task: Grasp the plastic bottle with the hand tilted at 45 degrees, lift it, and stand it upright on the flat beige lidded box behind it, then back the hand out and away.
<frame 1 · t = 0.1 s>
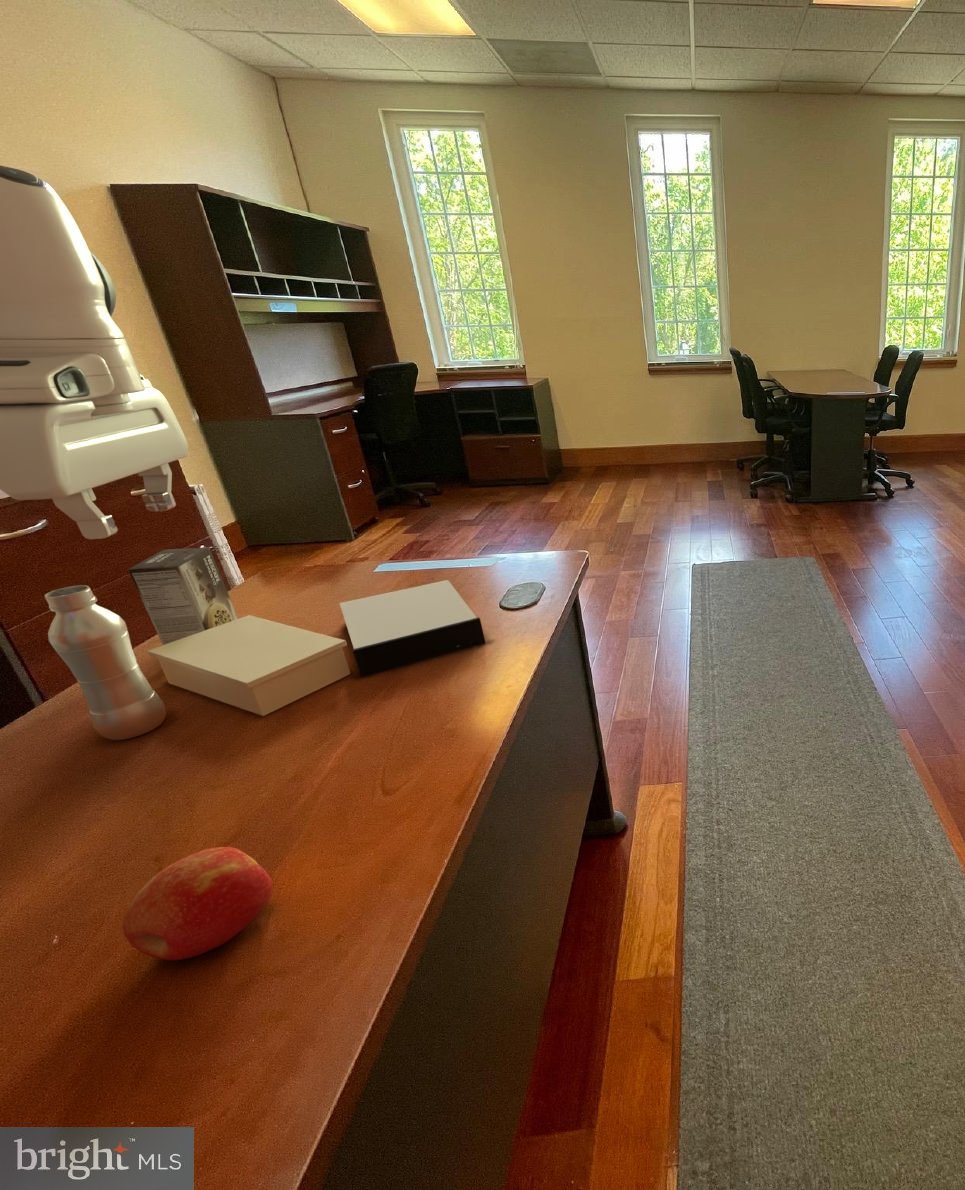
hand: (134, 522, 60), 31 cm above the table, tool pointing down, fingers open, 8 cm apart
disc drive: (414, 637, 105), on the table
flat beige lidded box: (262, 680, 91), on the table
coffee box: (209, 649, 100), on the table
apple: (217, 937, 53), on the table
plastic bottle: (139, 732, 80), on the table
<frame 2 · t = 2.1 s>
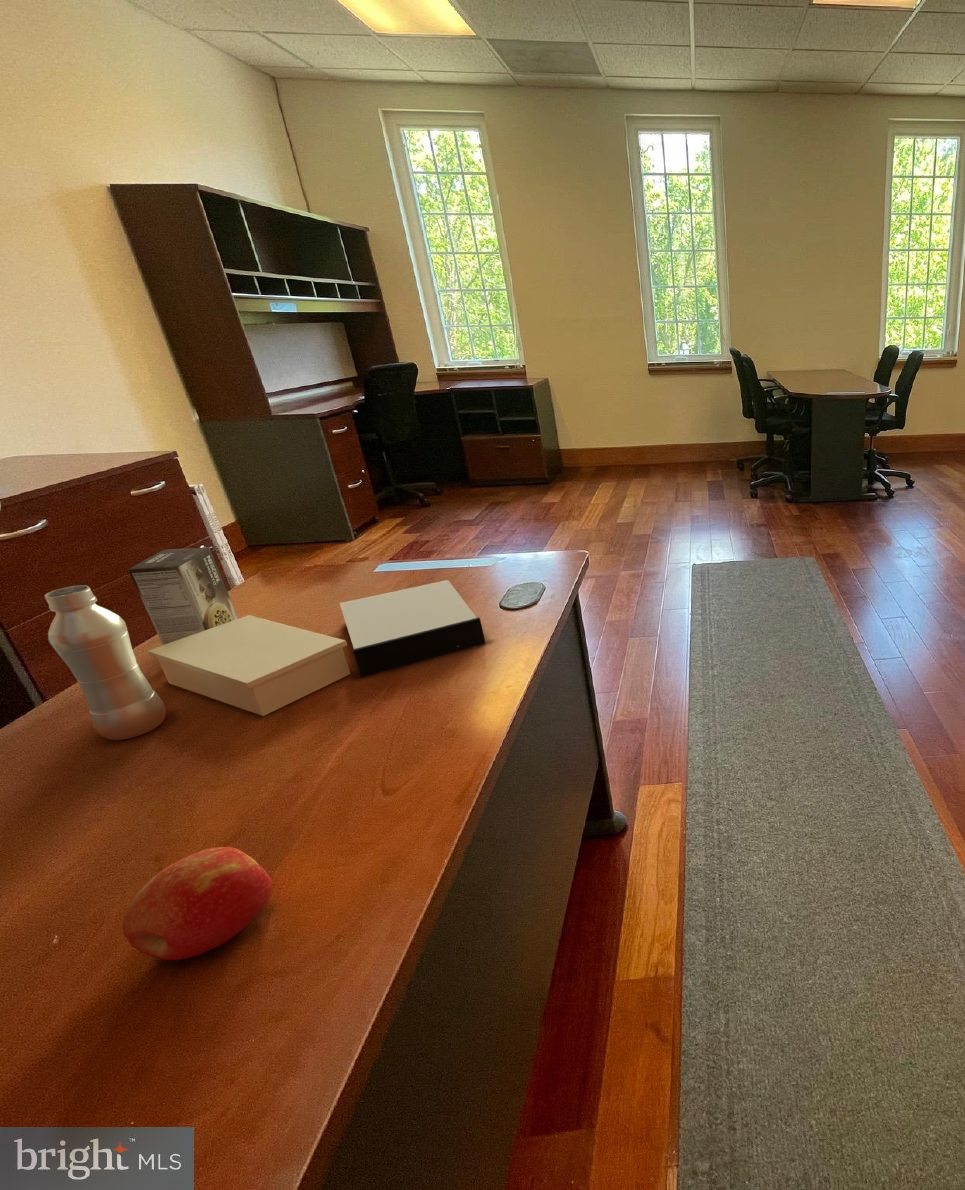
nothing on the table moved.
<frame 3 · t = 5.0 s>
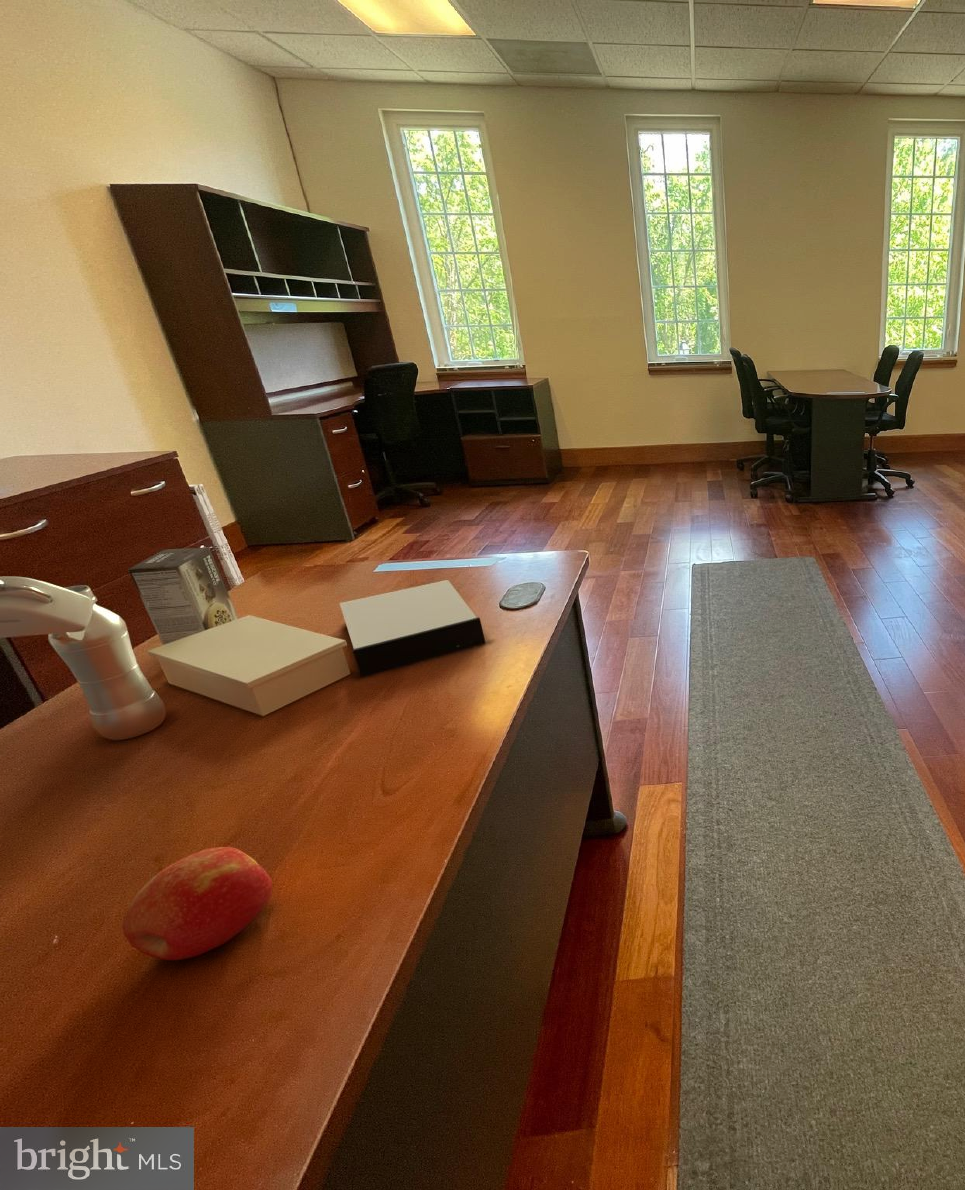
hand: (23, 638, 66), 17 cm above the table, tool tilted 45°, fingers open, 8 cm apart
nothing on the table moved.
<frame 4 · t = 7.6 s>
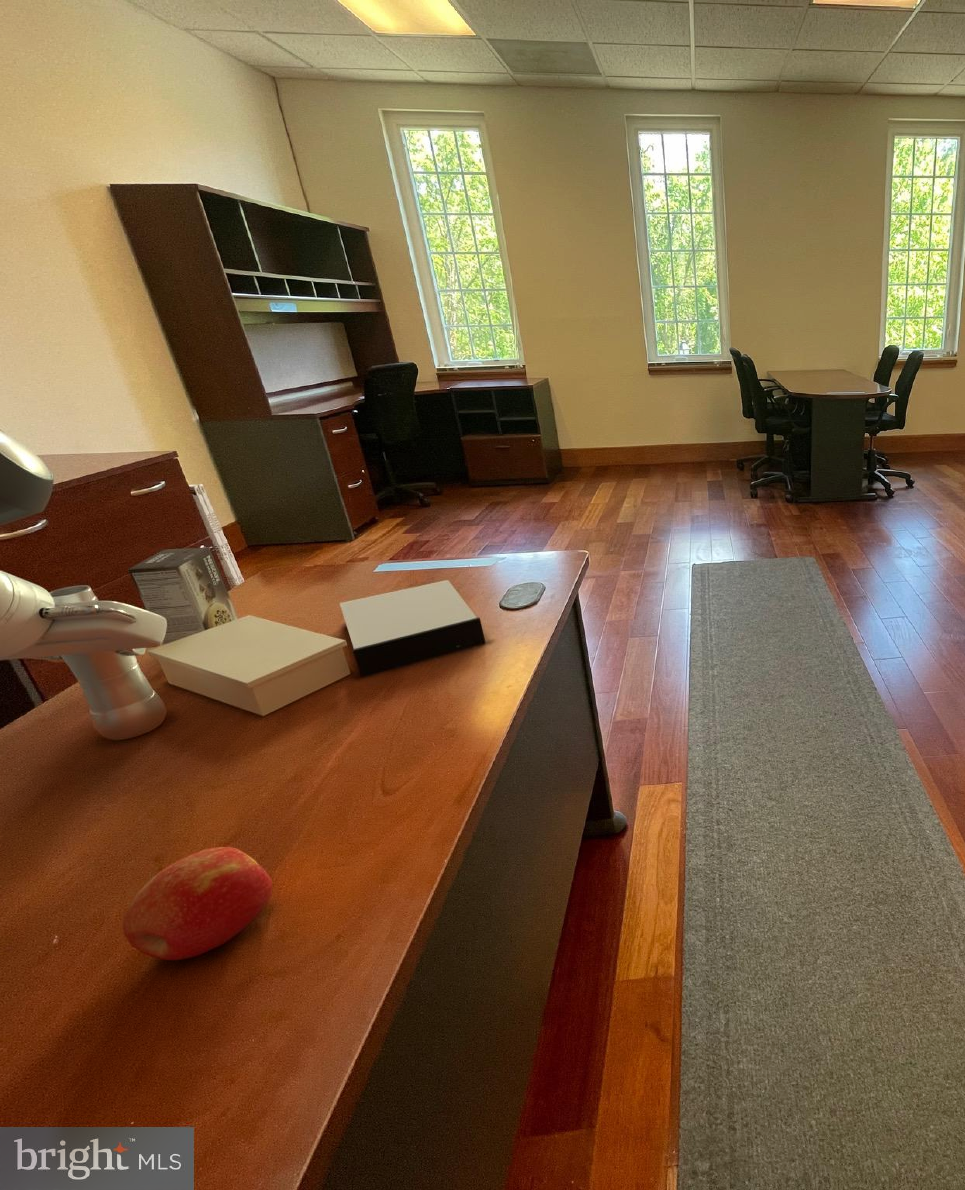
hand: (103, 652, 76), 11 cm above the table, tool tilted 45°, fingers closed on plastic bottle, 6 cm apart
plastic bottle: (139, 732, 80), on the table, touching gripper
everything else where it was.
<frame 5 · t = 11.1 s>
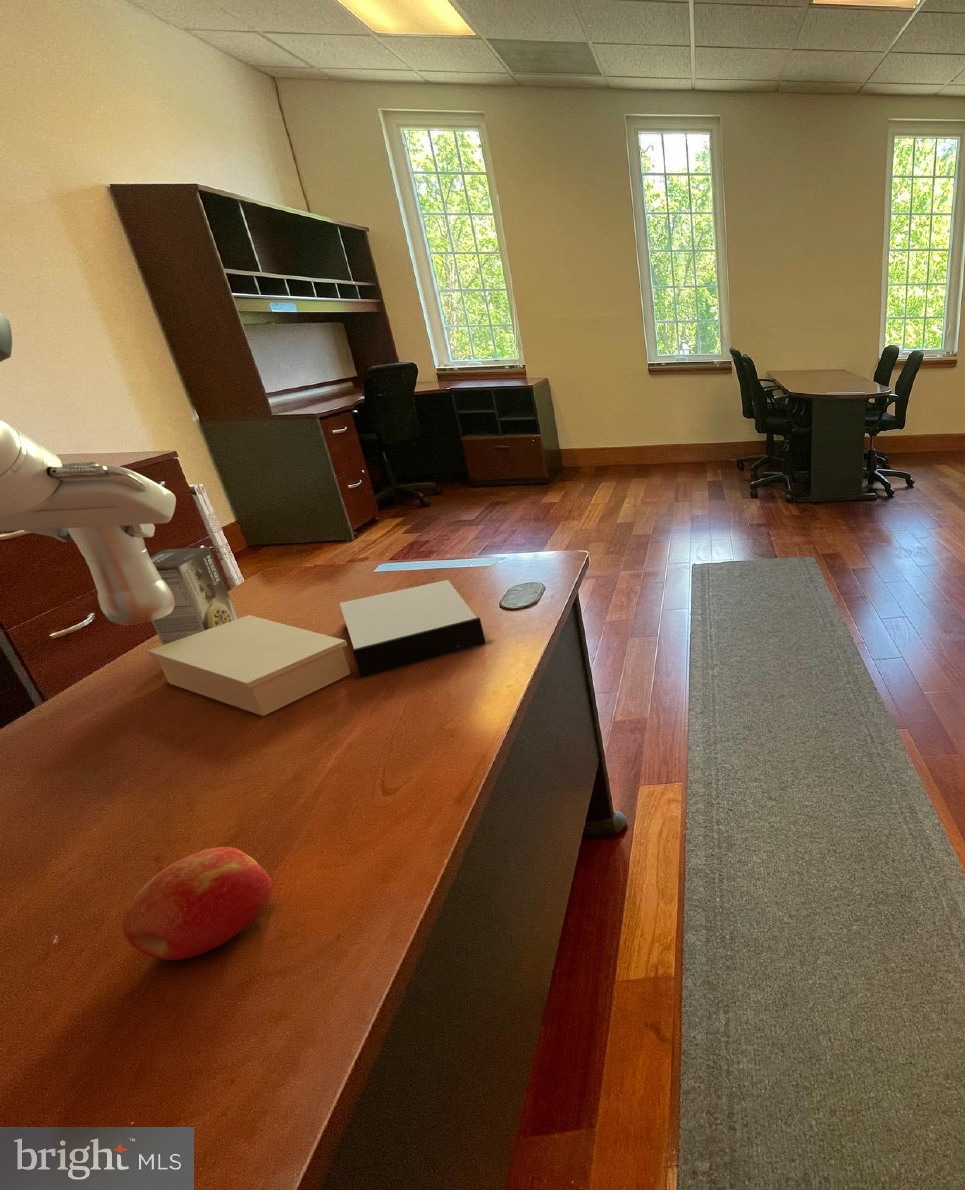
hand: (111, 534, 74), 25 cm above the table, tool tilted 45°, fingers closed on plastic bottle, 6 cm apart
plastic bottle: (147, 621, 79), point 14 cm above the table, touching gripper
everything else where it was.
when the fingers open (17 cm above the table, at t = 15.0 s): plastic bottle stays where it is, resting on flat beige lidded box.
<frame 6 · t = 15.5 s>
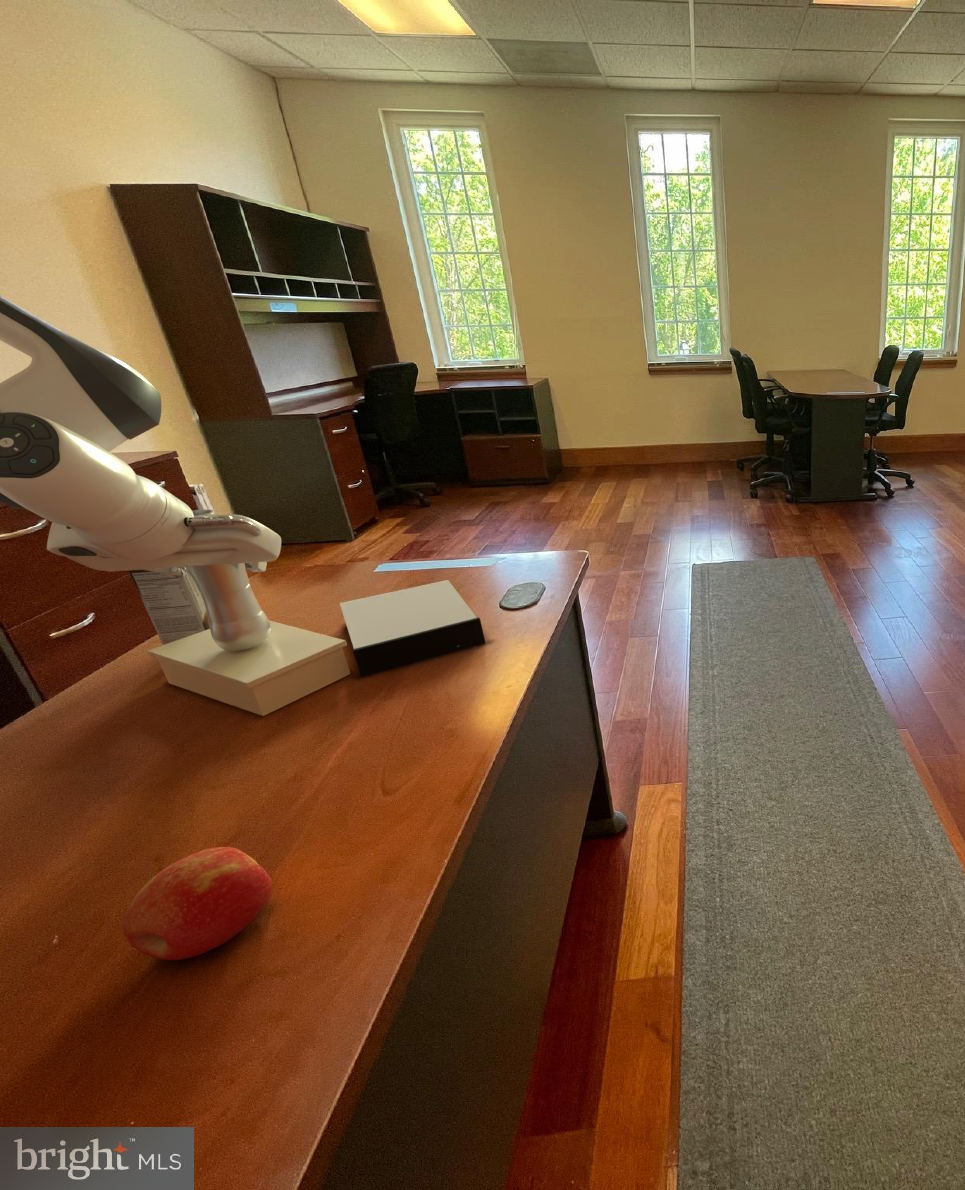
hand: (221, 569, 85), 18 cm above the table, tool tilted 45°, fingers open, 8 cm apart
plastic bottle: (248, 646, 89), point 6 cm above the table, touching flat beige lidded box
everything else where it was.
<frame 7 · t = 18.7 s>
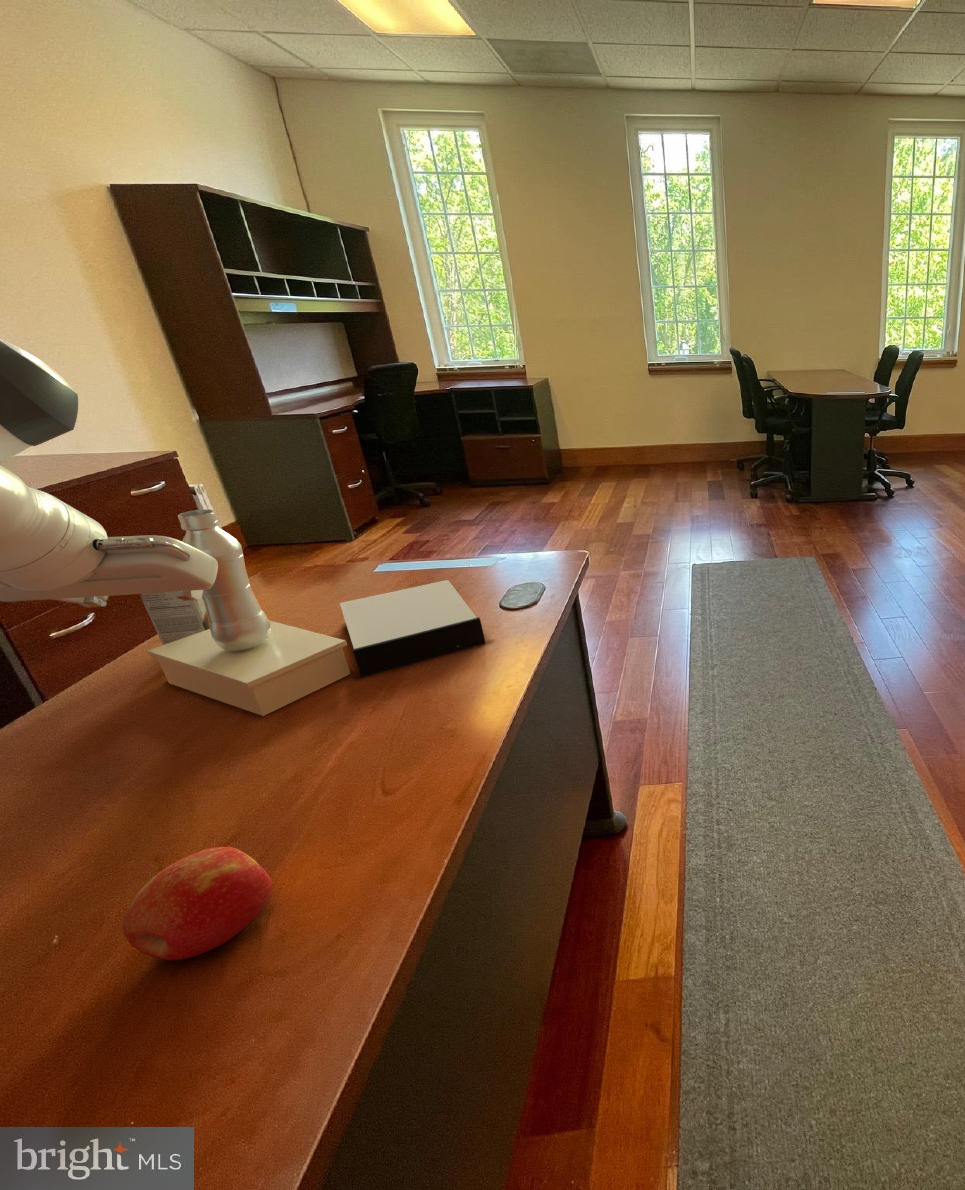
hand: (148, 598, 73), 19 cm above the table, tool tilted 45°, fingers open, 8 cm apart
nothing on the table moved.
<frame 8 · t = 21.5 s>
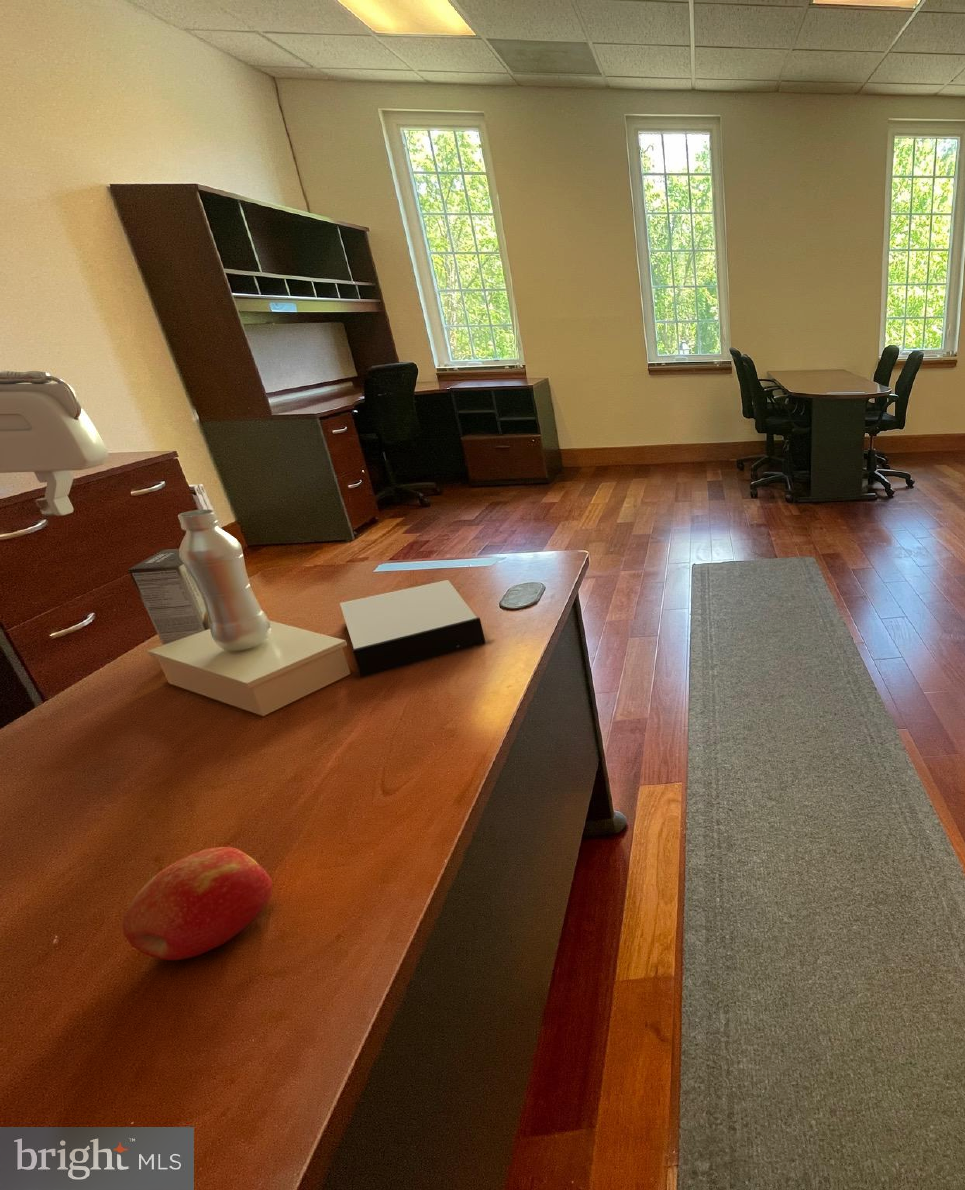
hand: (1, 517, 61), 31 cm above the table, tool pointing down, fingers open, 8 cm apart
nothing on the table moved.
at the end: plastic bottle inside the target area on the flat beige lidded box (0.0 cm from its centre), point 5.8 cm above the flat beige lidded box's base; plastic bottle tilted 0°; the gripper is holding nothing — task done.
